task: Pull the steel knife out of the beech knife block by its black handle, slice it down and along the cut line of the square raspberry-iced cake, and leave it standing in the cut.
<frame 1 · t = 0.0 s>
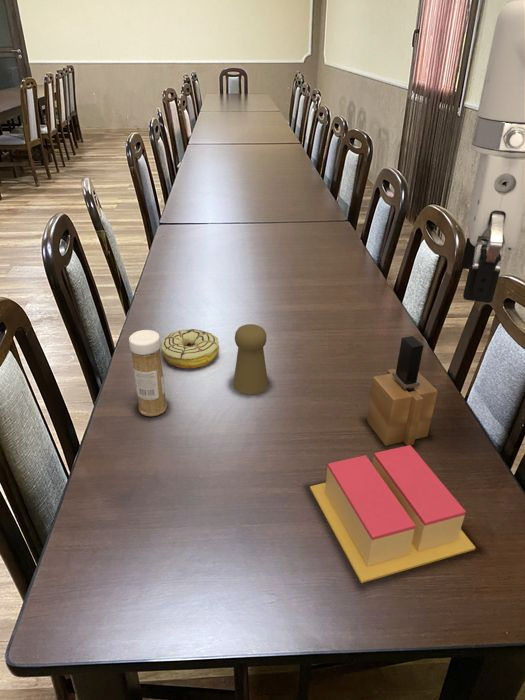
hand: (475, 283, 66), 26 cm above the table, tool pointing down, fingers open, 9 cm apart
knife block: (396, 429, 83), on the table
knife: (404, 387, 78), in the knife block
decorated donut: (190, 357, 100), on the table
sprinkles bottle: (152, 409, 86), on the table
olive brown pawn: (250, 385, 92), on the table
cake: (387, 517, 68), on the table
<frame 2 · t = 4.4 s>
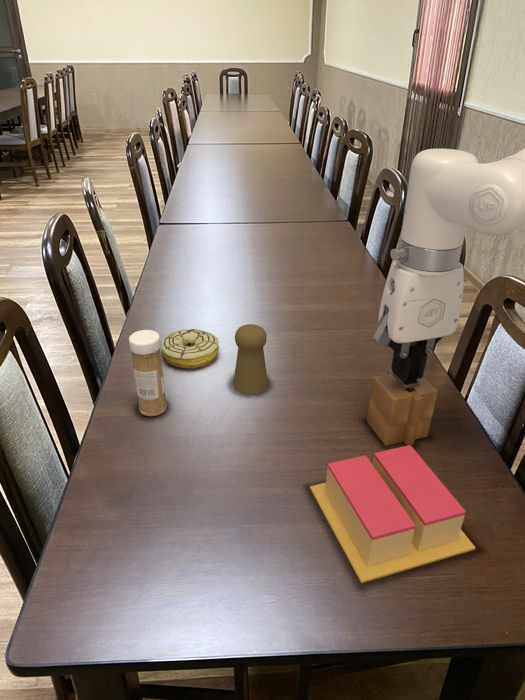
hand: (406, 374, 77), 10 cm above the table, tool pointing down, fingers closed on knife, 1 cm apart
knife: (404, 387, 78), in the knife block, touching gripper
everything else where it was.
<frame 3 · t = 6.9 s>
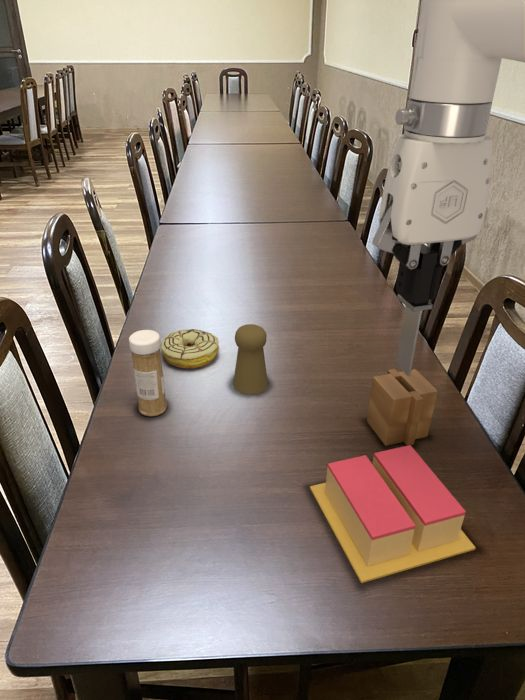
hand: (415, 294, 61), 27 cm above the table, tool pointing down, fingers closed on knife
knife: (412, 313, 62), point 25 cm above the table, touching gripper
everything else where it was.
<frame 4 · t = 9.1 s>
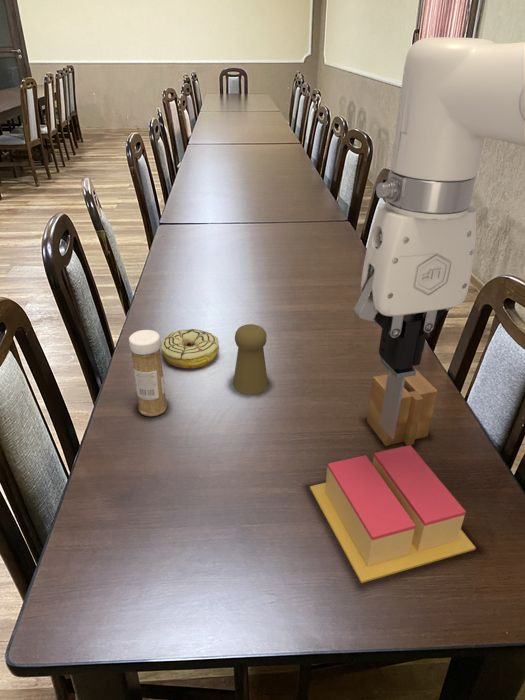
hand: (399, 359, 59), 22 cm above the table, tool pointing down, fingers closed on knife
knife: (396, 377, 60), point 19 cm above the table, touching gripper
everything else where it was.
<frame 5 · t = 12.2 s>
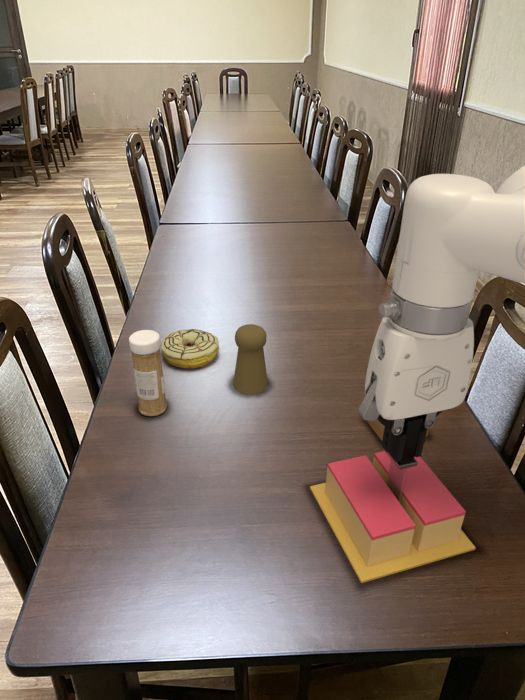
hand: (401, 450, 62), 11 cm above the table, tool pointing down, fingers closed on knife, 1 cm apart
knife: (398, 465, 63), point 9 cm above the table, touching gripper
everything else where it was.
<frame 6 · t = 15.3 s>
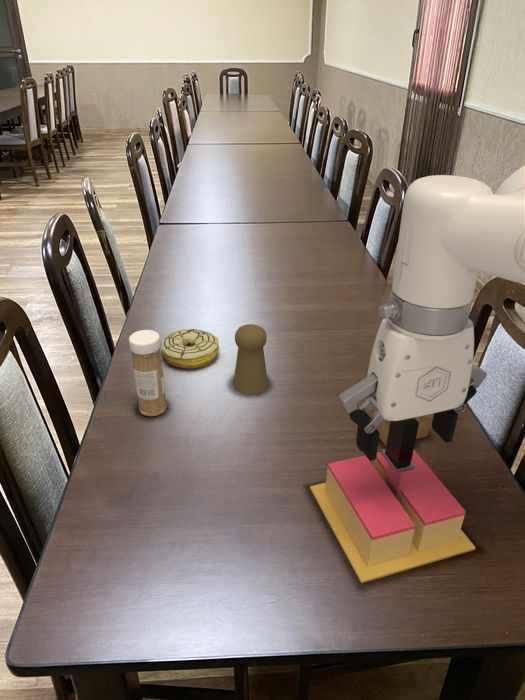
hand: (404, 443, 61), 12 cm above the table, tool pointing down, fingers open, 9 cm apart
knife: (395, 468, 63), resting on cake
everything else where it was.
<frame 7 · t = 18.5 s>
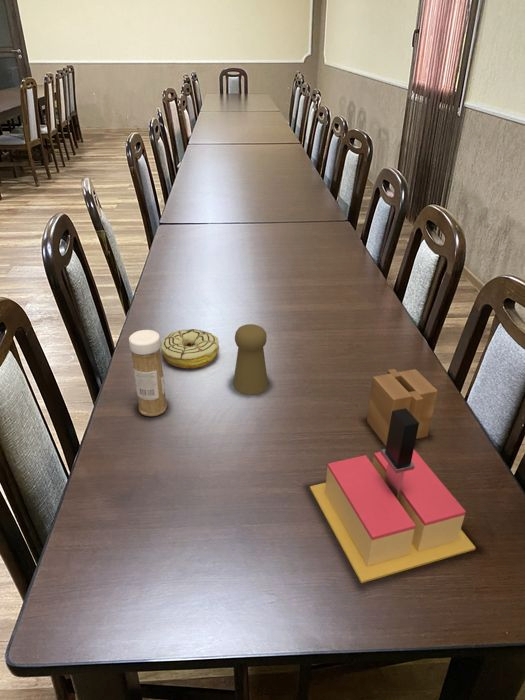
nothing on the table moved.
at the end: knife inside the target area on the cake (0.1 cm from its centre), point 8.2 cm above the cake's base; knife tilted 0°; the gripper is holding nothing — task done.
